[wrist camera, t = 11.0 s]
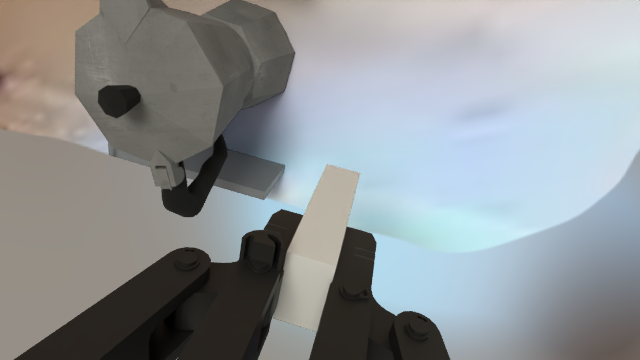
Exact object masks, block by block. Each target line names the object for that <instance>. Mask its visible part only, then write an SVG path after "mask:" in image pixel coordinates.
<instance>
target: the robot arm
mask: <svg viewBox="0 0 640 360" xmlns="http://www.w3.org/2000/svg"><path fill="white" fill-rule="evenodd" d="M359 176H360V173H358V172H354V171H350V170H347V169H343V168H339V167H336V166H332V165H328V164H327V165H326V167H325V170H324V172H323V174H322V176H321V178H320V180H319V183H318V185H317V187H316V189H315V191H314V194H313V196H312V198H311V200H310V202H309V204H308V207H307V209H306V211H305V213H304V215H301V214H297V213H293V212H290V211H286V210H282V209H281V210H280V211H278V212H276V213H274V214H273V215H272V217H271V218H270V220H269V222H268V224H267V225H266V226H265V228H264V230H256V231H252V232H249V233H246V234H245V235H244V236H243V237H242V243H241V250H240V258H239V260H238V261H237V262H232V263H214V262H213V263H212V262H211V259H210V258H209V255H208V254H207V253H205V252H204V251H202V250H200V249H197V248H189V247H185V248H180V249H176V250H174V251H172V252H170V253H168V254H167V255H166V256H164V257H163V258H161V259H160V260H158V261H157V262H156V263H154V264H152V265H151V266H149V267H148V268H147V269H145V270H144V271H142V272H141V273H139V274H138V275H136V276H135V277H133V278H132V279H131V280H129V281H128V282H126V283H125V284H123V285H122V286H120V287H119V288H117V289H116V290H115V291H113V292H112V293H110V294H109V295H107V296H106V297H104V298H103V299H101V300H100V301H99V302H97V303H96V304H94V305H93V306H91V307H90V308H88V309H87V310H85V311H84V312H82V313H81V314H80V315H78V316H77V317H75V318H74V319H72V320H71V321H69V322H68V323H67V324H65V325H64V326H62V327H61V328H59V329H58V330H56V331H55V332H53V333H52V334H51V335H49V336H48V337H46V338H45V339H43V340H42V341H40V342H39V343H37V344H36V345H35V346H33V347H32V348H30V349H29V350H27V351H26V352H24V353H23V354H21V355H20V356H18V357H17V358H16V359H14V360H176V359H177V358H178V359H177V360H258V357H259V355H260V352H261V349H262V347H263V345H264V342H265V340H266V337H267V335H268V332H269V328H270V322H271V319H272V316H273V314H274V317H273V318H274V319H277V320H280V321H284V322H287V323H290V324H293V325H297V326H300V327H303V328H306V329H309V330H313V331H316V332H317V333H316V337H315V341H314V344H313V348H312V352H311V355H310V359H309V360H450V358H449V355H448V352H447V350H446V347H445V344H444V342H443V339H442V336H441V334H440V332H439V330H438V328H437V327H436V325H435V324H434V323H433V322H432V321H431V320H430V319H429V318H427V317H425V316H424V315H422V314H420V313H416V312H413V311H405V312H402V313H400V314H398V315H397V316H395V315H394V314H392V313H390V312H389V311H387V310H385V309H384V308H382V307H381V306H380V305H379V304H378V303H377V302H376V300H375V299H374V297H373V295H372V291H371V285H372V277H373V268H374V260H375V251H376V241H375V239H374V237H373V235H372V234H371V233H368V232H364V231H361V230H357V229H354V228H350V227H347V223H348V219H349V215H350V211H351V207H352V203H353V199H354V195H355V191H356V188H357V184H358V180H359Z"/></svg>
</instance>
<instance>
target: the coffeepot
mask: <svg viewBox="0 0 640 360" xmlns="http://www.w3.org/2000/svg"><path fill="white" fill-rule="evenodd" d="M294 53H295V52H294V50H293V48H292V46H291V44H290V41H289V39H288V36H287V34H286V32H285V30H284V28H283V27H282V25H281V23H280V22H279V20H278V18H277V16H276V14H275V12H273V11H270V10H268V9H265V8H262V7H260V6H258V5H254V4H251V3H248V2H246V1H243V0H230V1H228V2H226V3H224V4H222V5H220V6H218V7H216V8H215V9H213V10H211V11H209V12H207V13H205V14H203V15H201V16H198V15H195V14H192V13H189V12H185V11H181V10H177V9H172V8H168V7H167V6H166V5H165V4H164V3H163V2H162V1H161V0H100V14H98V15H97V16H96V17H94V18H93V19H92V20H90V21H89V22H88V23H86V24H85V25H83V26H82V27H81V28H79V29H78V30H77V31H76V42H75V94H76V96H77V97H78V99H79V100H80V102H81V103H82V105H83V106H84V107H85V109H86V110H87V112H88V113H89V115H90V116H91V117H92V119H93V120H94V122H95V123H96V125H97V126H98V128H99V129H100V130H101V132H102V133H103V135H104V136H105V138H106V139H107V141H108V142H109V143H110V145H111V146H112V147H113V148H115V149H118V150H121V151H123V152H126V153H128V154H131V155H133V156H136V157H138V158H141V159H144V160H146V161H149V162H150V168H151V171H152V175H153V179H154V182H155V186H161V191H162V200H163V205H164V207H165V208H166V209H167V210H169V211H171V212H173V213H176V214H178V215H181V216H183V217H194V216H195V215H197V214H198V213H199V212H200V211H201V209H202V207H203V205H204V203H205V201H206V199H207V196H208V194H209V192H210V190H211V188H212V187H213V185H214V183H215V181H216V179H217V177H218V175H219V173H220V171H221V169H222V167H223V164H224V162H225V160H226V159H227V156H228V152H227V147H226V144H225V141H224V138H223V135H222V134H221V133H222V132H223V131H224V129H225V128H226V127H227V125H228V124H229V123H230V122H231V120H232V119H233V118H234V116H235V115H236V114H237V113H238V111H239V110H241V109H245V108H250V107H253V106H255V105H257V104H259V103H261V102H263V101H265V100H267V99H269V98H271V97H273V96H275V95H277V94H279V93H281V92H283V91H284V90H285V86H286V82H287V79H288V76H289V73H290V70H291V64H292V60H293V57H294ZM211 146H213V154H212V156H211V157H209V158H208V159H207V160H206V161H205V162H204V163H203V164H202V166H201V169H200V172H199V174H198V176H197V177H196V178H195V179H194V181H193V182H192V183H191V184H190V185H189V186H188V187H187V181H186V172H185V167H184V163H183V160H184V159H186V158H188V157H191V156H193V155H195V154H197V153H199V152H201V151H203V150H205V149H207V148H209V147H211Z"/></svg>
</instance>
